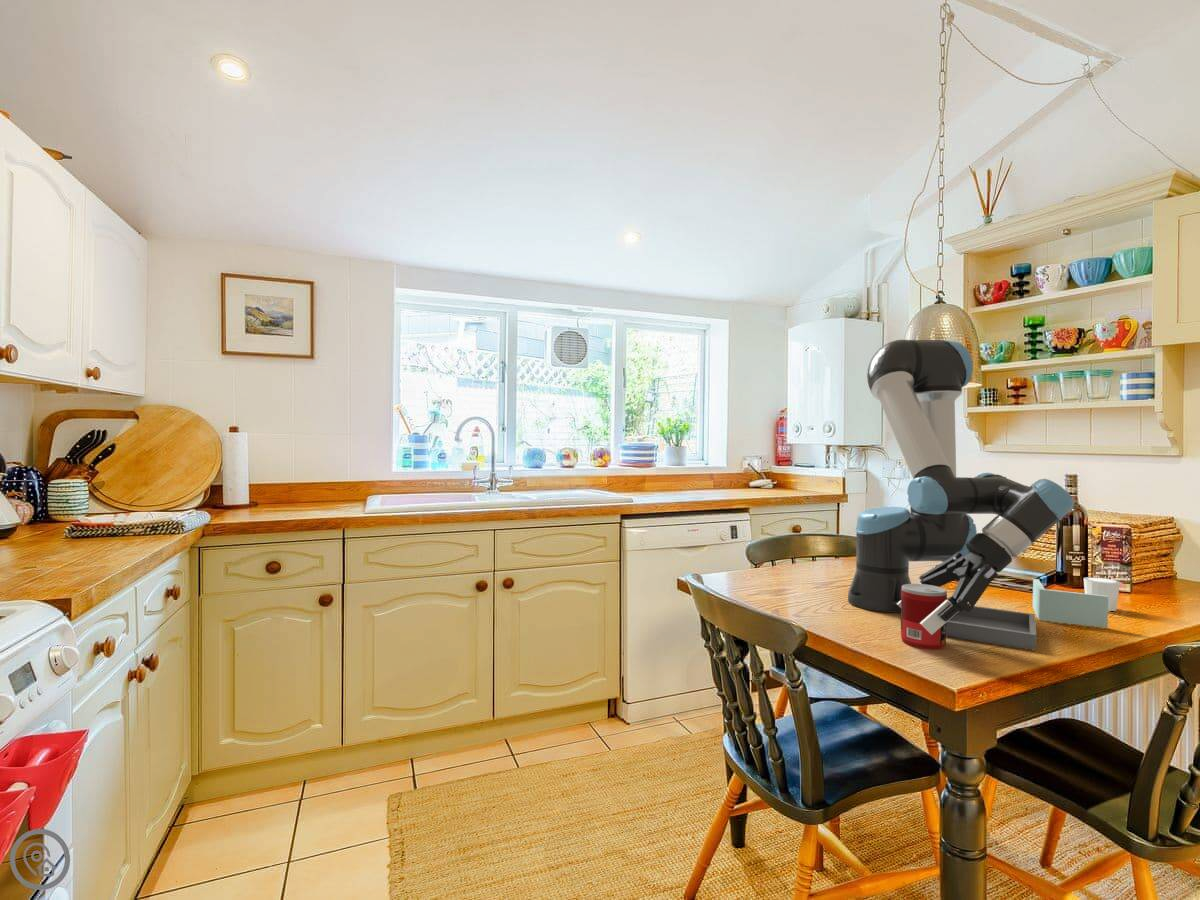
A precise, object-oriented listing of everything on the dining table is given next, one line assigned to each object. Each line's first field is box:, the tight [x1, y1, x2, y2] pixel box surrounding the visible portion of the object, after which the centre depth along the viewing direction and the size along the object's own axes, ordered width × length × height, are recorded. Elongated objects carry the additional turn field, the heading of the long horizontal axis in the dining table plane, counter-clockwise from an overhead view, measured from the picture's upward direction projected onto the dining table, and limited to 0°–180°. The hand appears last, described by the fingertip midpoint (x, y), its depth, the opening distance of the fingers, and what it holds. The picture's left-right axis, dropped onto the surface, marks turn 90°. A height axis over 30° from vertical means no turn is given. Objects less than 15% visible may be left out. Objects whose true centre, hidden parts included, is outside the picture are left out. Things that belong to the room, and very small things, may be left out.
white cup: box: [1083, 576, 1121, 612], centre depth 148 cm, size 7×7×7 cm
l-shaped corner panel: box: [1032, 578, 1109, 629], centre depth 141 cm, size 12×12×8 cm
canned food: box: [900, 583, 948, 650], centre depth 123 cm, size 8×8×11 cm
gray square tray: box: [946, 605, 1037, 651], centre depth 131 cm, size 17×17×3 cm
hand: (912, 618), depth 123 cm, fingers open, 13 cm apart
